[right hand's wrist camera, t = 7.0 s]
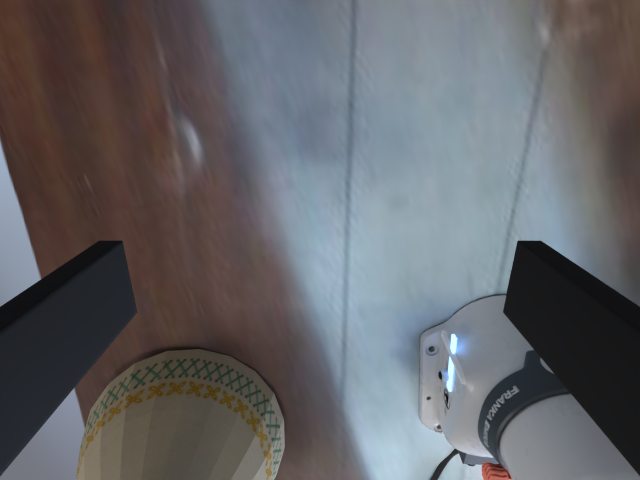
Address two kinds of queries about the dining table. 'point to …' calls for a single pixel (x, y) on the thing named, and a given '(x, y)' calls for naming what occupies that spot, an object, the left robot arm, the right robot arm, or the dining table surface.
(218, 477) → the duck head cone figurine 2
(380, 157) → the dining table surface
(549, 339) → the right robot arm
